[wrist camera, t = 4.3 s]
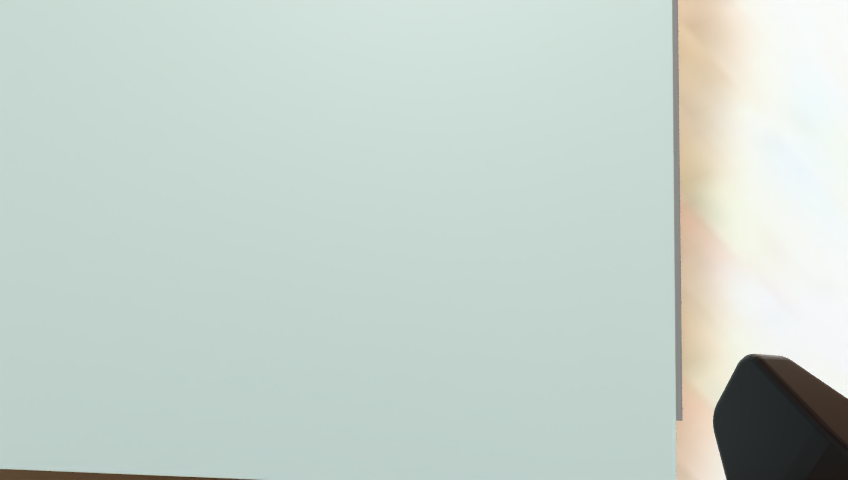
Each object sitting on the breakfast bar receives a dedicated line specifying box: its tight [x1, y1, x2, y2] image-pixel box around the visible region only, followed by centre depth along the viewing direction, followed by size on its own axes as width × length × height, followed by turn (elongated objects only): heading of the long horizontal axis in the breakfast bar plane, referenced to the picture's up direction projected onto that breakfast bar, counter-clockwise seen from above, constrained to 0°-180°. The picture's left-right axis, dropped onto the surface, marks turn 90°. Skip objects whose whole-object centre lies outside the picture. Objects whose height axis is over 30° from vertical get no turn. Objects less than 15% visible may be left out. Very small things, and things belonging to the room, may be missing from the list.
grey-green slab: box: [0, 0, 676, 480], centre depth 14 cm, size 4×12×10 cm
